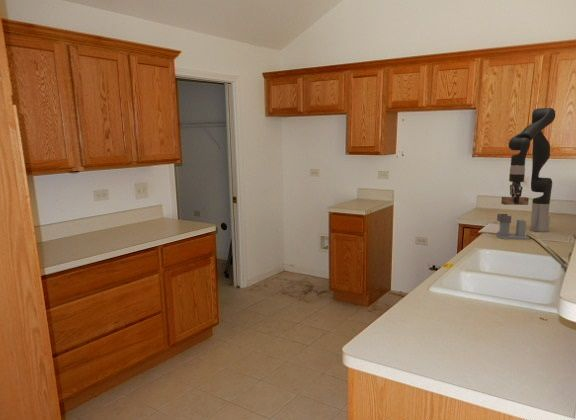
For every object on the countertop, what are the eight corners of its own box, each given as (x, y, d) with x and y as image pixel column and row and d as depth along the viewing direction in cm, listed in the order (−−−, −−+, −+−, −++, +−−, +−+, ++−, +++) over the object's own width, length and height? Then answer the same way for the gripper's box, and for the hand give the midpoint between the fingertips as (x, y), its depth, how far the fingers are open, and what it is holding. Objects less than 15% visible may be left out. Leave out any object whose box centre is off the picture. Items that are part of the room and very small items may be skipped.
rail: (524, 203, 237) (525, 197, 237) (528, 204, 233) (528, 197, 233) (501, 203, 239) (501, 196, 238) (504, 204, 235) (504, 197, 234)
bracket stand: (523, 236, 241) (525, 214, 239) (529, 239, 234) (530, 216, 232) (496, 235, 244) (497, 213, 242) (500, 238, 236) (501, 215, 235)
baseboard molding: (475, 233, 255) (496, 235, 248) (475, 228, 254) (497, 230, 248) (485, 225, 280) (504, 227, 273) (485, 221, 279) (505, 223, 273)
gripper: (529, 174, 226) (526, 205, 228) (519, 172, 240) (517, 201, 242) (514, 174, 227) (511, 204, 230) (505, 172, 241) (503, 201, 244)
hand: (514, 203), depth 236 cm, fingers closed on rail, 4 cm apart
